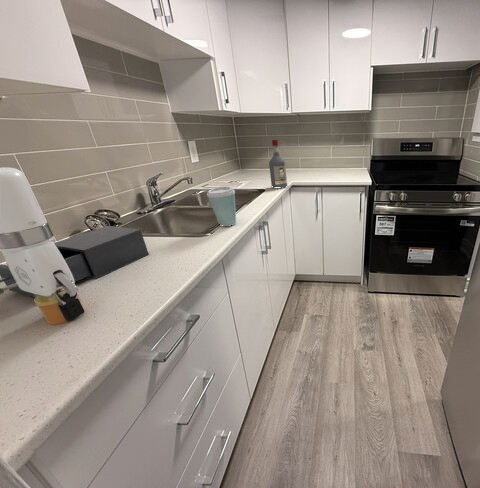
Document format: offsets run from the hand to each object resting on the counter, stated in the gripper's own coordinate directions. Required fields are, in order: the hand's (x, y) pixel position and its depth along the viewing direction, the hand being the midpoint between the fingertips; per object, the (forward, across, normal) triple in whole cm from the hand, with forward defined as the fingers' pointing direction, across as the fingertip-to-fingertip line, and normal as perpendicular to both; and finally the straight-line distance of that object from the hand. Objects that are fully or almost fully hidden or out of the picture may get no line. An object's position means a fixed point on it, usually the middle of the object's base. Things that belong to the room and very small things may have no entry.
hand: (65, 313), depth 56 cm
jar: (+1, 0, 0) cm, 1 cm away
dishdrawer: (+1, -18, +20) cm, 27 cm away
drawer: (0, -18, +6) cm, 19 cm away
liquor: (+1, -19, +134) cm, 136 cm away
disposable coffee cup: (+1, -4, +59) cm, 60 cm away
